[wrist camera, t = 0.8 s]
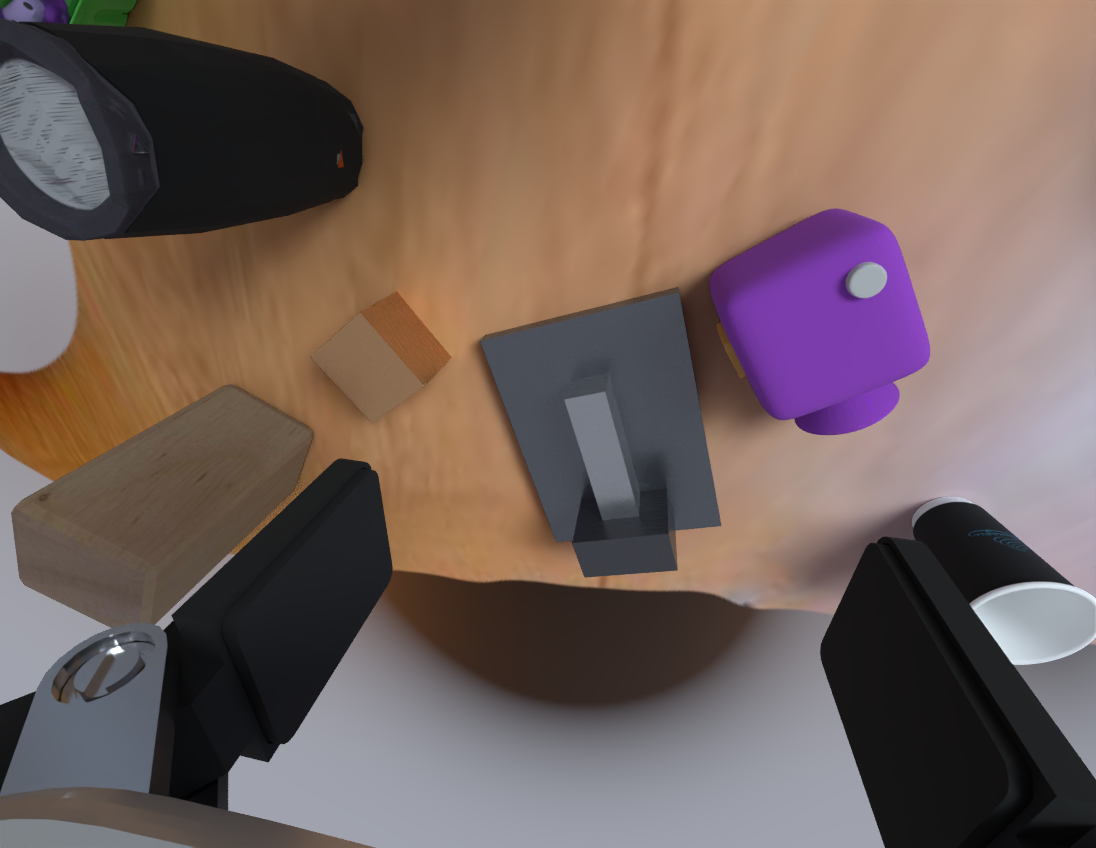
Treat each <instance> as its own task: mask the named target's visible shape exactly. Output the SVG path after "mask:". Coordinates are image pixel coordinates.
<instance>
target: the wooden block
mask: <svg viewBox="0 0 1096 848" xmlns="http://www.w3.org/2000/svg"><path fill="white" fill-rule="evenodd" d="M312 437H313V432H312V431H311V430H310V429H309V427H307V426H305V425H303V424H302V423H300V422H298V421H296V420H295V419H293V418H291V417H289V416H288V415H286V414H284V413H282V412H280V411H279V410H277V409H275V408H273V407H272V406H270V405H268V404H266V403H265V402H263V401H261V400H259V399H258V398H256V397H254V396H252V395H251V394H249V393H247V392H245V391H243V390H242V389H240V388H238V387H236V386H233V385H225V386H223V387H221V388H219V389H217V390H216V391H214V392H212V393H210V394H209V395H207V396H205V397H203V398H201V399H200V400H198V401H196V402H194V403H193V404H191V405H189V406H187V407H185V408H184V409H182V410H180V411H178V412H177V413H175V414H173V415H171V416H170V417H168V418H166V419H164V420H162V421H161V422H159V423H157V424H155V425H154V426H152V427H150V428H148V429H147V430H145V431H143V432H141V433H139V434H138V435H136V436H134V437H132V438H131V439H129V440H127V441H125V442H123V443H122V444H120V445H118V446H116V447H115V448H113V449H111V450H109V451H108V452H106V453H104V454H102V455H100V456H99V457H97V458H95V459H93V460H92V461H90V462H88V463H86V464H84V465H83V466H81V467H79V468H77V469H76V470H74V471H72V472H70V473H69V474H67V475H65V476H63V477H61V478H60V479H58V480H56V481H54V482H53V483H51V484H49V485H47V486H46V487H44V488H42V489H40V490H38V491H37V492H35V493H33V494H31V495H30V496H28V497H26V498H24V499H23V500H21V501H20V502H19V503H18V505H16V506H15V508H14V509H13V511H12V512H11V515H12V523H13V531H14V539H15V547H16V554H17V563H18V570H19V578H20V579H21V581H22V582H23V584H24V585H25V586H27V587H29V588H31V589H33V590H35V591H37V592H40V593H41V594H44V595H46V596H48V597H50V598H52V599H54V600H56V601H58V602H60V603H62V604H64V605H66V606H68V607H70V608H72V609H74V610H76V611H78V612H80V613H82V614H84V615H86V616H88V617H90V618H92V619H95V620H96V621H98V622H101V623H103V624H105V625H107V626H109V627H111V628H113V627H117V626H121V625H126V624H130V623H150V624H153V625H155V624H156V623H157V622H158V621H159V620H160V619H161V618H162V617H163V616H164V615H165V614H166V613H167V612H168V611H169V610H170V609H171V608H173V606H175V605H176V604H177V603H178V602H179V601H180V600H181V599H182V598H183V597H184V596H185V595H186V594H187V593H188V592H189V591H190V590H191V589H192V588H193V587H194V586H195V585H196V584H197V583H198V582H199V581H200V580H202V579H203V578H204V577H205V576H206V575H207V574H208V573H209V572H210V571H211V570H212V569H213V568H214V567H215V566H216V565H217V564H218V563H219V562H220V561H221V560H222V559H223V558H224V557H225V556H226V555H227V554H229V553H230V552H231V551H232V550H233V549H234V548H235V547H236V546H237V545H238V544H239V543H240V542H241V541H242V540H243V539H244V538H245V537H246V536H247V535H248V534H249V533H250V532H251V531H252V530H253V529H254V528H255V527H257V526H258V525H259V524H260V523H261V522H262V521H263V520H264V519H265V518H266V517H267V516H268V515H269V514H270V513H271V512H272V511H273V510H274V509H275V508H276V507H277V506H278V505H279V504H280V503H281V502H282V501H283V500H284V499H286V498H287V497H288V496H289V495H290V494H291V493H292V492H293V491H294V489H295V486H296V483H297V480H298V477H299V475H300V472H301V469H302V466H303V463H304V460H305V458H306V455H307V452H308V449H309V446H310V444H311V441H312Z"/></svg>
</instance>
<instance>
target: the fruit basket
mask: <svg viewBox="0 0 1096 848" xmlns="http://www.w3.org/2000/svg"><path fill="white" fill-rule="evenodd" d="M136 1H137V0H0V18H2V19H6V20H11V21H15V22H20V21H21V22H45V23H64V24H83V25H102V26H121V27H125V25H126V23H127V16H128V14H127V13H128V12H130V11H131V10H132V9H133V8H134V6H135V3H136Z"/></svg>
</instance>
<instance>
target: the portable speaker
mask: <svg viewBox="0 0 1096 848" xmlns="http://www.w3.org/2000/svg"><path fill="white" fill-rule="evenodd" d="M362 132H363V126H362V124H361V121H360V119H359V117H358V115H357V113H356V111H355V109H354V107H353V105H352V103H351V101H350V100H349V99H347V98H346V97H345V96H344V95H342V94H341V93H340V92H338V91H337V90H336V89H334V88H333V87H332V86H330V85H329V84H328V83H327V82H325V81H322V80H320V79H318V78H316V77H314V76H312V75H310V74H307V73H305V72H303V71H301V70H298V69H296V68H294V67H292V66H290V65H287V64H285V63H283V62H281V61H278V60H276V59H274V58H271V57H267V56H262V55H258V54H254V53H249V52H245V51H241V50H237V49H232V48H228V47H224V46H219V45H215V44H211V43H207V42H202V41H198V40H194V39H189V38H185V37H181V36H177V35H172V34H168V33H164V32H160V31H155V30H151V29H147V28H140V27H121V26H102V25H83V24H64V23H45V22H21V21H20V22H15V21H11V20H6V19H2V18H0V197H1V198H2V199H3V200H4V201H5V202H6V203H7V204H8V205H9V206H10V207H11V208H12V209H13V210H14V211H15V212H16V213H17V214H18V215H19V216H20V217H21V218H22V219H24V220H26V221H28V222H31V223H33V224H35V225H37V226H39V227H41V228H43V229H45V230H47V231H49V232H51V233H53V234H55V235H57V236H59V237H61V238H63V239H65V240H84V241H85V240H94V239H102V238H104V239H113V238H129V237H145V236H161V235H176V234H192V233H203V232H208V231H213V230H218V229H223V228H228V227H233V226H238V225H243V224H248V223H253V222H258V221H263V220H268V219H273V218H278V217H283V216H288V215H291V214H294V213H297V212H300V211H303V210H306V209H309V208H312V207H315V206H318V205H321V204H324V203H327V202H330V201H332V200H334V199H338V198H343V197H345V196H346V195H347V194H348V193H349V192H351V191H352V190H353V189H354V188H356V187H357V186H358V176H359V172H360V169H361V165H362V160H363V159H362Z"/></svg>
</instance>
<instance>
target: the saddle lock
mask: <svg viewBox="0 0 1096 848" xmlns="http://www.w3.org/2000/svg"><path fill="white" fill-rule="evenodd" d="M310 358H311V359H312V360H313V361H314V362H315V363H316V364H317V365H318V366H319V367H320V368H321V369H322V370H323V371H324V372H325V373H326V375H327V376H328V377H329V378H330V379H331V380H332V381H333V382H334V383H335V384H336V385H337V386H338V387H339V388H340V389H341V390H342V391H343V393H344V394H345V395H346V396H347V397H348V398H349V399H350V400H351V401H352V402H353V403H354V404H355V405H356V406H357V407H358V408H359V409H360V411H361V412H362V413H363V414H364V415H365V416H366V417H367V418H368V419H369V420H370V421H371V422H372V423H374V422H375V421H376V420H378V419H379V418H381V417H382V416H383V415H385V414H386V413H388V412H389V411H390V410H392V409H393V408H395V407H396V406H397V405H399V404H400V403H401V402H403V401H404V400H406V399H407V398H408V397H410V396H411V395H413V394H414V393H415V392H417V391H418V390H420V389H421V388H422V387H424V386H425V385H426V384H427V383H428V382H429V381H430V379H431V378H432V377H433V376H434V375H435V374H436V373H437V372H438V371H439V370H440V369H441V368H442V367H443V366H444V365H445V364H446V363H447V362H448V360H449V359H450V358H451V356H450V355H449V354H448V352H447V351H446V350H445V349H444V348H443V346H442V345H441V344H440V343H439V342H438V340H437V339H436V338H435V337H434V336H433V334H432V333H431V332H430V331H429V330H428V328H427V327H426V326H425V325H424V324H423V322H422V321H421V320H420V319H419V317H418V316H417V315H416V314H415V313H414V311H413V310H412V309H411V308H410V307H409V305H408V304H407V303H406V302H405V301H404V299H403V298H402V297H401V296H400V295H399V293H398V292H395V293H393V294H392V295H390V296H388V297H386V298H385V299H383V300H381V301H379V302H378V303H376V304H374V305H372V306H371V307H369V308H367V309H366V310H364V311H362V312H360V313H359V314H358V315H357V316H356V317H355V318H353V319H352V320H351V321H350V322H349V323H348V324H347V325H346V326H345V327H343V328H342V329H341V330H340V331H339V332H338V333H337V334H336V335H334V336H333V337H332V338H331V339H330V340H329V341H328V342H327V343H326V344H324V345H323V346H322V347H321V348H320V349H319V350H318V351H317V352H315V353H314V354H313V355H312V356H311V357H310Z"/></svg>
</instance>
